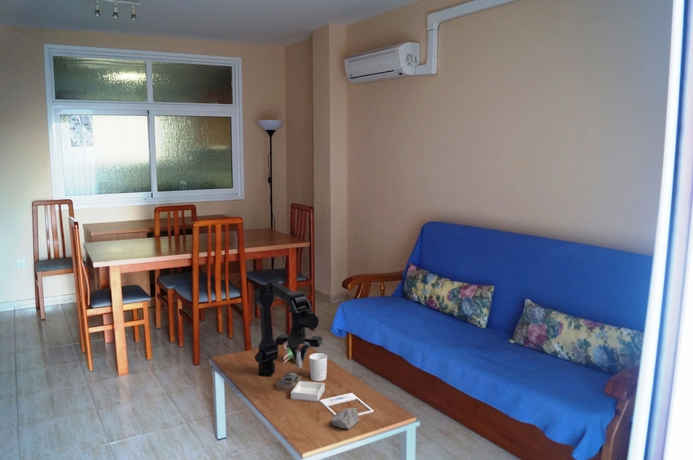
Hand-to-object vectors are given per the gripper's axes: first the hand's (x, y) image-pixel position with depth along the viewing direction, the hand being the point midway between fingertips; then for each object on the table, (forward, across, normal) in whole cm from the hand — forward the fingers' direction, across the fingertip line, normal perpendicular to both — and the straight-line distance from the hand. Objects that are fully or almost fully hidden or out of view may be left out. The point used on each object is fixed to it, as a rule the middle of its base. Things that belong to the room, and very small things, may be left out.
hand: (299, 360), depth 232 cm
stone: (+15, +25, -22) cm, 36 cm away
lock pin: (+2, 0, 0) cm, 2 cm away
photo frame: (+15, +21, -8) cm, 27 cm away
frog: (+13, -14, +32) cm, 37 cm away
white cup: (+14, +3, +16) cm, 21 cm away
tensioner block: (+14, -7, +6) cm, 16 cm away
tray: (+14, +4, -1) cm, 14 cm away
